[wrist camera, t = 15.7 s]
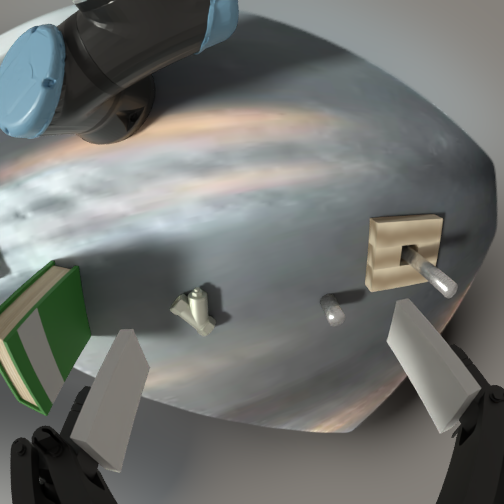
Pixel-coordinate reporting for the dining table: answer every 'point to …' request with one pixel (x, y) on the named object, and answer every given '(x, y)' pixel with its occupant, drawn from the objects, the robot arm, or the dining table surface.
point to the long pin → (429, 271)
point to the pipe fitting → (194, 311)
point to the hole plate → (400, 249)
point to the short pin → (332, 310)
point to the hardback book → (42, 335)
